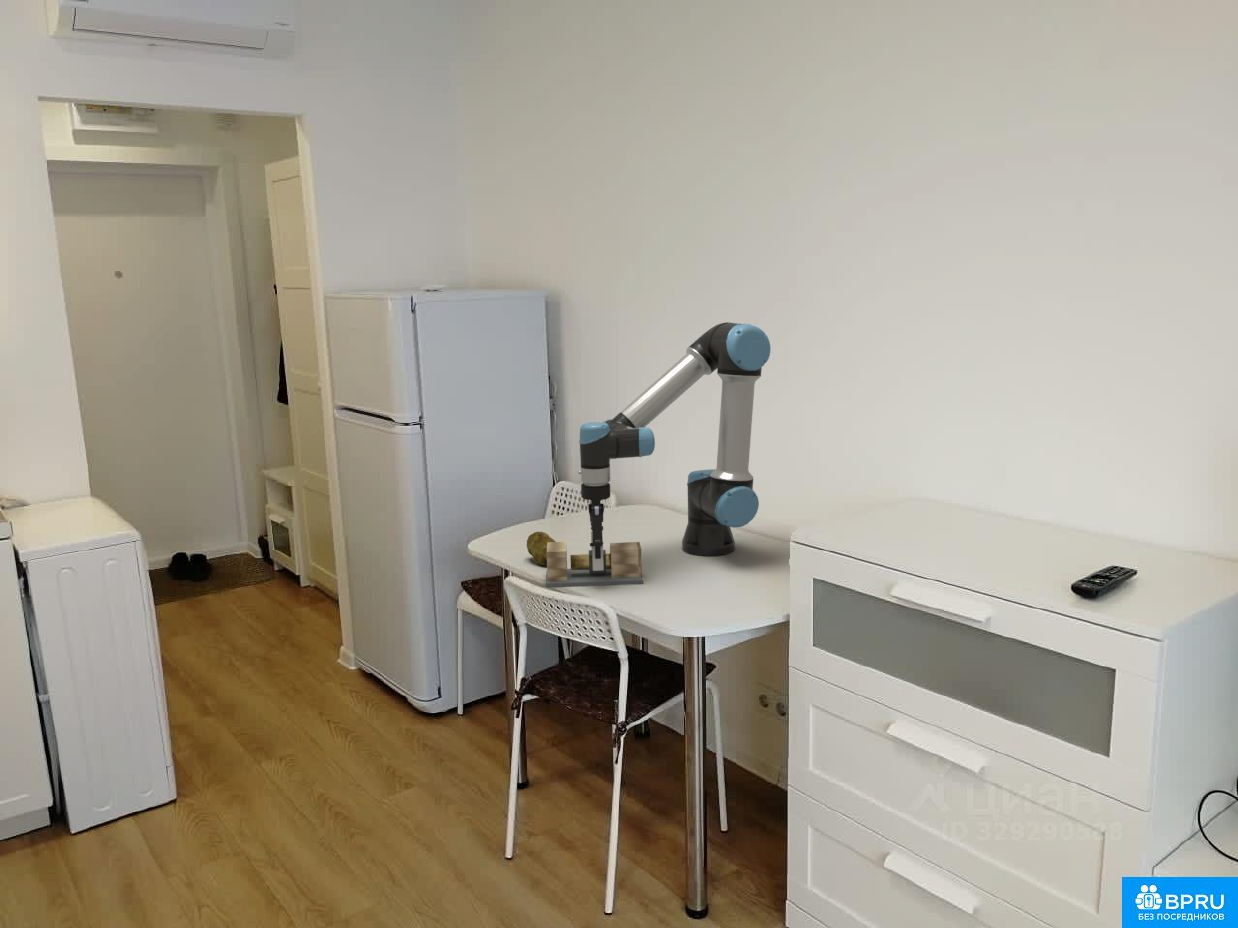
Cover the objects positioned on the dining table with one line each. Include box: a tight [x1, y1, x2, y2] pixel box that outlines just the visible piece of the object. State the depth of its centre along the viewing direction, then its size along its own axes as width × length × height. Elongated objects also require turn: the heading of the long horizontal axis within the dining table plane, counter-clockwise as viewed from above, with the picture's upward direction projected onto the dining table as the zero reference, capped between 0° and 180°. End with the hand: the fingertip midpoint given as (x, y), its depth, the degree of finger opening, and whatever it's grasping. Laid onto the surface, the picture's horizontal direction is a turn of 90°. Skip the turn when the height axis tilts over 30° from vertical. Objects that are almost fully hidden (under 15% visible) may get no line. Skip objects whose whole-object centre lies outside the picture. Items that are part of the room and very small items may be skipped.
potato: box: [526, 531, 556, 567], centre depth 270 cm, size 8×13×8 cm, turn 16°
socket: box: [546, 541, 568, 582], centre depth 254 cm, size 5×9×8 cm, turn 3°
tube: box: [570, 549, 611, 574], centre depth 255 cm, size 17×4×5 cm, turn 93°
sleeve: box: [609, 541, 643, 578], centre depth 255 cm, size 8×7×8 cm
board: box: [545, 568, 644, 588], centre depth 255 cm, size 25×12×1 cm, turn 93°
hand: (597, 562), depth 255 cm, fingers open, 13 cm apart
